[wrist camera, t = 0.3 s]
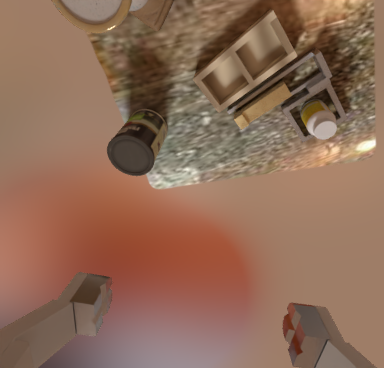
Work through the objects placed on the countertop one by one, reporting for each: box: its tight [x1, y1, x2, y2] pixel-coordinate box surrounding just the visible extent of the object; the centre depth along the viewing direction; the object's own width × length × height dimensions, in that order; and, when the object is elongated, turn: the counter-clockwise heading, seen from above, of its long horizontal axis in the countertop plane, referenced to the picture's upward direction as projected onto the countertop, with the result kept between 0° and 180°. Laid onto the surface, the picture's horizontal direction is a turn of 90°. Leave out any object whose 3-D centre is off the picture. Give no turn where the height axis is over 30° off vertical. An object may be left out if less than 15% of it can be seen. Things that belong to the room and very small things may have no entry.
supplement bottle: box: [300, 99, 337, 139], centre depth 50 cm, size 5×5×10 cm
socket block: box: [227, 48, 348, 142], centre depth 53 cm, size 20×17×4 cm
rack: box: [193, 9, 297, 113], centre depth 48 cm, size 18×9×4 cm, turn 130°
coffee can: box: [107, 109, 167, 176], centre depth 57 cm, size 10×10×14 cm
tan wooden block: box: [234, 78, 292, 130], centre depth 52 cm, size 12×3×5 cm, turn 130°
